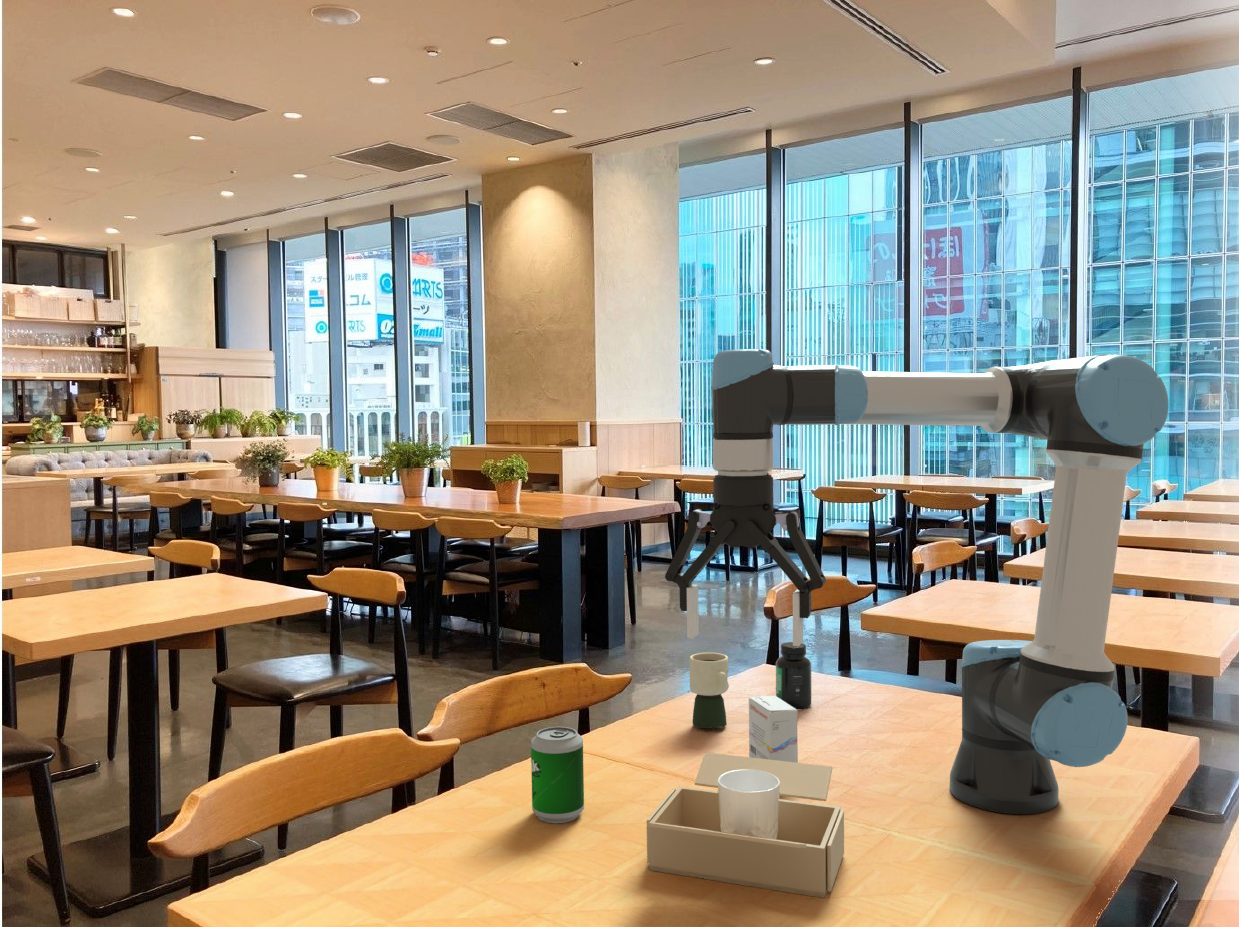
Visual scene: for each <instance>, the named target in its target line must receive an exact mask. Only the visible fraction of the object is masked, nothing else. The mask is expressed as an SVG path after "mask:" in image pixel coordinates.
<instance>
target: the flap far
mask: <svg viewBox="0 0 1239 927" xmlns="http://www.w3.org/2000/svg"><path fill="white" fill-rule="evenodd" d="M745 769H747V770H759V771H764V772H767V773H770V774H773V775H774V776H776V777H777V778H778V779H779V780H780V793H779V797H780V796H781V797H788V798H789V797H790V798H795V799H803V800H811V801H812V800H813V801H819V802H820V801H821V802H827V799H828V792H829V787H830V782H831V777H832V772H833V767H832V766H829V765H821V764H820V765H819V764H812V763H803V762H798V763H795V762H786V761H777V760H768V759H760V758H751V757H749V756H740V755H730V754H723V753H714V752H712V753H711V752H704V755H703V758H702V761H701V763H700V766H699V769H698V771H697V774H696V777H695V780H694V786H699V787H708V788H717V789H718V778H719V776H721V775H722V774H724V773H726V772H729V771H734V770H745Z"/></svg>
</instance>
